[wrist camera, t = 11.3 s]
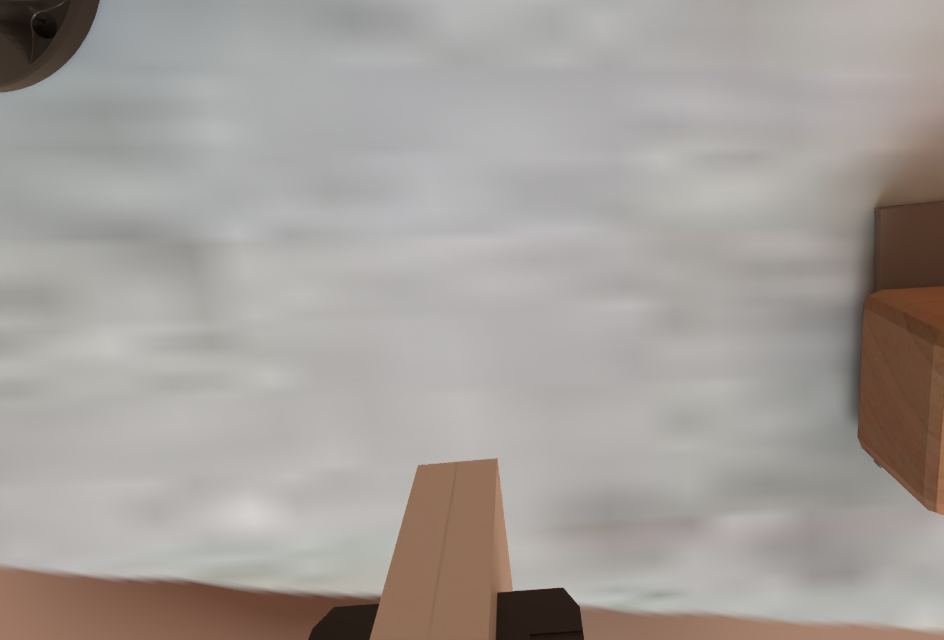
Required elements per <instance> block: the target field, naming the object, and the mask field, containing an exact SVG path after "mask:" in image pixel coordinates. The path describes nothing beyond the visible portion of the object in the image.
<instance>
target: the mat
mask: <svg viewBox="0 0 944 640" xmlns="http://www.w3.org/2000/svg"><path fill="white" fill-rule="evenodd" d="M940 286H944V201H937V202H928V203H919V204H909V205H900V206H891V207H881V208H875V293H876V292H878V291H881V290H885V289H903V288H922V287H940ZM874 462H875V463H876V464H877V465H878V466H879V467H882V466H881V465H880V464H879V463H878V462H877V461H876V460H875V459H874Z"/></svg>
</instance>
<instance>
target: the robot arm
mask: <svg viewBox="0 0 944 640" xmlns="http://www.w3.org/2000/svg"><path fill="white" fill-rule="evenodd" d="M98 4H99V0H0V92H9V91H14V90H18V89H22V88H25V87H28V86H31V85H33V84H36V83H38V82H40V81H42V80H44V79H45V78H47V77H49V76H50V75H52V74H53V73H55V72H56V71H57V70H58V69H60V68H61V67H62V66H63V65H64V64H65V63H66V62H67V61H68V60H69V59H70V58H71V57H72V56H73V55H74V54H75V52H76V51H77V50H78V48H79V47H80V46H81V44H82V42H83V41H84V39H85V38H86V36H87V34H88V32H89V30H90V28H91V25H92V23H93V21H94V18H95V15H96V12H97V8H98ZM308 640H584V636H583V628H582V621H581V613H580V607H579V606H578V604H577V603H576V602H575V601H574V600H573V599H572V597H571V596H570V595H569V594H568V593H567V592H566V590H565V589H564V588H552V589H538V590H525V591H512V580H511V571H510V563H509V554H508V546H507V537H506V528H505V520H504V511H503V503H502V494H501V486H500V477H499V468H498V460H497V459H485V460H474V461H462V462H451V463H439V464H428V465H418V467H417V471H416V475H415V478H414V482H413V485H412V489H411V493H410V496H409V500H408V503H407V507H406V510H405V514H404V518H403V521H402V525H401V528H400V532H399V536H398V539H397V543H396V546H395V550H394V554H393V557H392V561H391V564H390V568H389V571H388V575H387V579H386V582H385V586H384V589H383V593H382V597H381V600H380V604H369V605H356V606H343V607H334V608H333V609H332V610H331V611H330V612H329V613H328V614H327V615H326V616H325V617H324V618H323V619H322V620H321V621H320V622H319V623H318V624H317V625H316V626H315V627H314V628H313V629H312V632H311V634H310V636H309V639H308Z"/></svg>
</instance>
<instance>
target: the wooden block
mask: <svg viewBox="0 0 944 640" xmlns="http://www.w3.org/2000/svg"><path fill="white" fill-rule="evenodd" d="M858 439H859V442H860V444H861V446H862V448H863V449H864V450H865V451H866V452H867V453H868V454H869V455H870V456H871V457H872V458H874V459H875V460H876V461H877V462H878V463H879V464H880V465H881V466H882V467H883V468H884V469H885V470H886V471H887V472H888V473H889V474H891V475H892V476H893V477H894V478H895V479H896V480H897V481H898V482H899V483H900V484H901V485H902V486H903V487H904V488H905V489H906V490H908V491H909V492H910V493H911V494H912V495H913V496H914V497H915V498H916V499H917V500H918V501H919V502H920V503H921V504H922V505H924V506H925V507H926V508H927V509H928V510H930V511H933V512H936V513H939V514H942V515H944V286H940V287H922V288H903V289H885V290H881V291H878V292H876V293H873V294H870V295H868V296H867V298H866V301H865V303H864V314H863V335H862V355H861V376H860V397H859V417H858Z"/></svg>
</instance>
